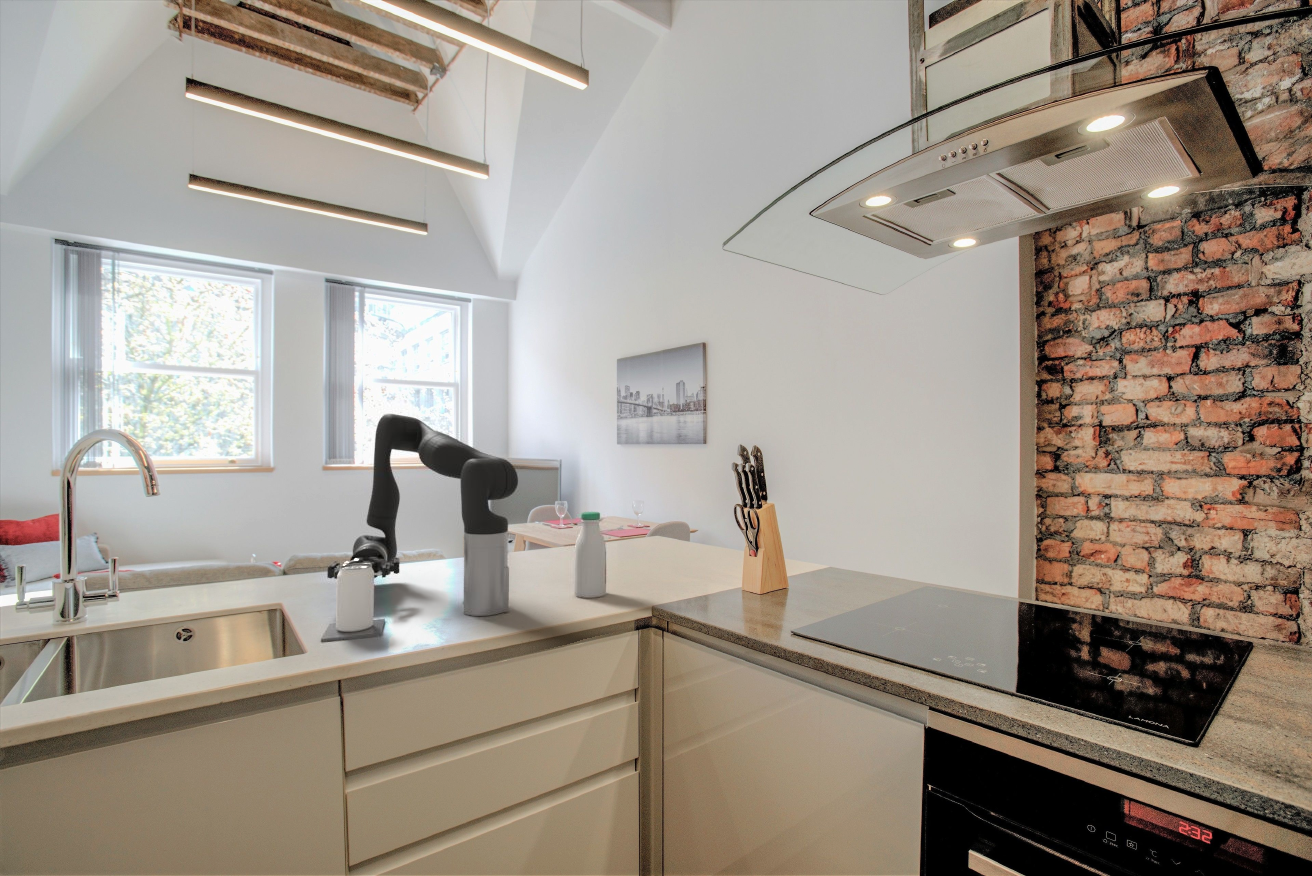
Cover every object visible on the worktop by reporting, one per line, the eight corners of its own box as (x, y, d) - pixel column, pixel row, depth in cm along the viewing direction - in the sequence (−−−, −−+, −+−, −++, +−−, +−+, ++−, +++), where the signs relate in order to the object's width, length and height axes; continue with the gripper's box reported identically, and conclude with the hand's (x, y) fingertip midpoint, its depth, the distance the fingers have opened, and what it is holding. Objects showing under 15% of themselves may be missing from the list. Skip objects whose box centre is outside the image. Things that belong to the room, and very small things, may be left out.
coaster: (384, 621, 121) (384, 618, 121) (380, 635, 112) (380, 633, 112) (329, 626, 118) (329, 623, 118) (320, 641, 108) (320, 639, 108)
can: (357, 634, 111) (358, 570, 111) (327, 631, 112) (329, 568, 113) (380, 624, 117) (381, 563, 118) (352, 622, 119) (353, 562, 119)
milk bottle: (604, 598, 140) (604, 514, 140) (571, 598, 140) (572, 514, 140) (607, 591, 147) (607, 510, 148) (576, 590, 148) (577, 510, 148)
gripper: (335, 546, 138) (323, 558, 123) (401, 543, 143) (398, 554, 128) (335, 579, 138) (323, 594, 122) (401, 574, 143) (398, 589, 128)
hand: (361, 574), depth 125 cm, fingers open, 8 cm apart
